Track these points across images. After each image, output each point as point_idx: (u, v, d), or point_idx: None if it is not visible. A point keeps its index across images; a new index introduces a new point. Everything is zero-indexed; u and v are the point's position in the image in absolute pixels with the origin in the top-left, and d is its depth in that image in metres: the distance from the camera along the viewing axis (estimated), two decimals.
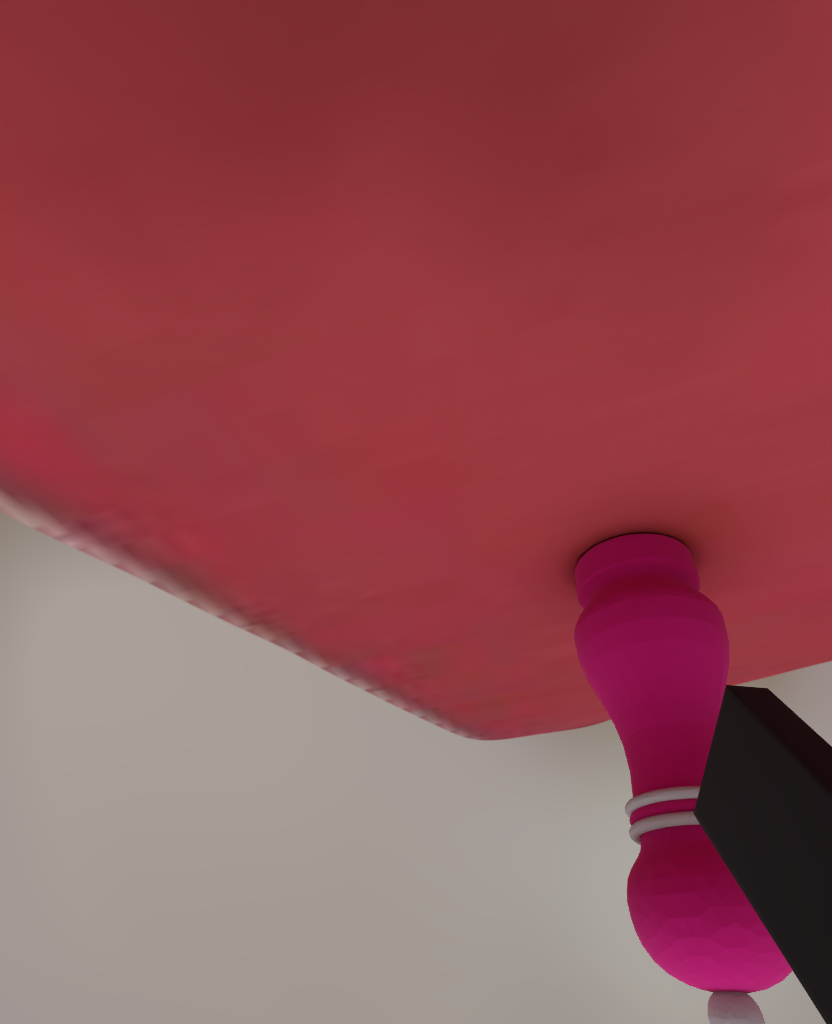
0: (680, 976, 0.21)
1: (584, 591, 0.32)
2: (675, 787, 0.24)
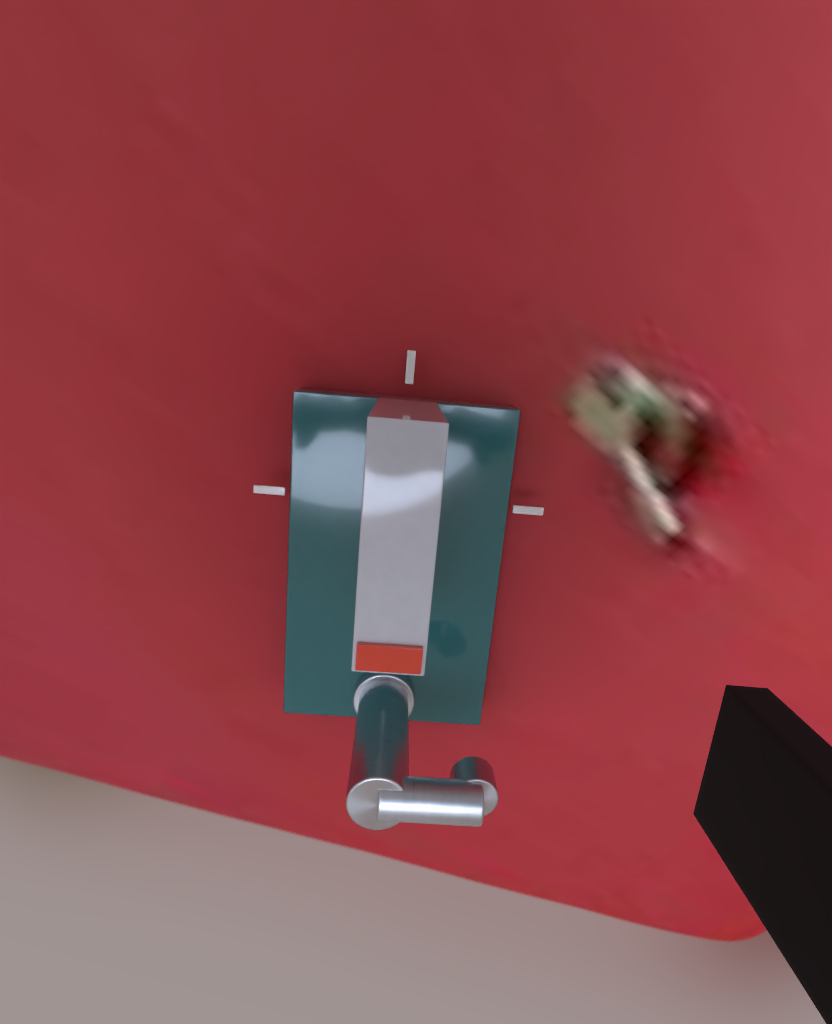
0: None
1: None
2: None
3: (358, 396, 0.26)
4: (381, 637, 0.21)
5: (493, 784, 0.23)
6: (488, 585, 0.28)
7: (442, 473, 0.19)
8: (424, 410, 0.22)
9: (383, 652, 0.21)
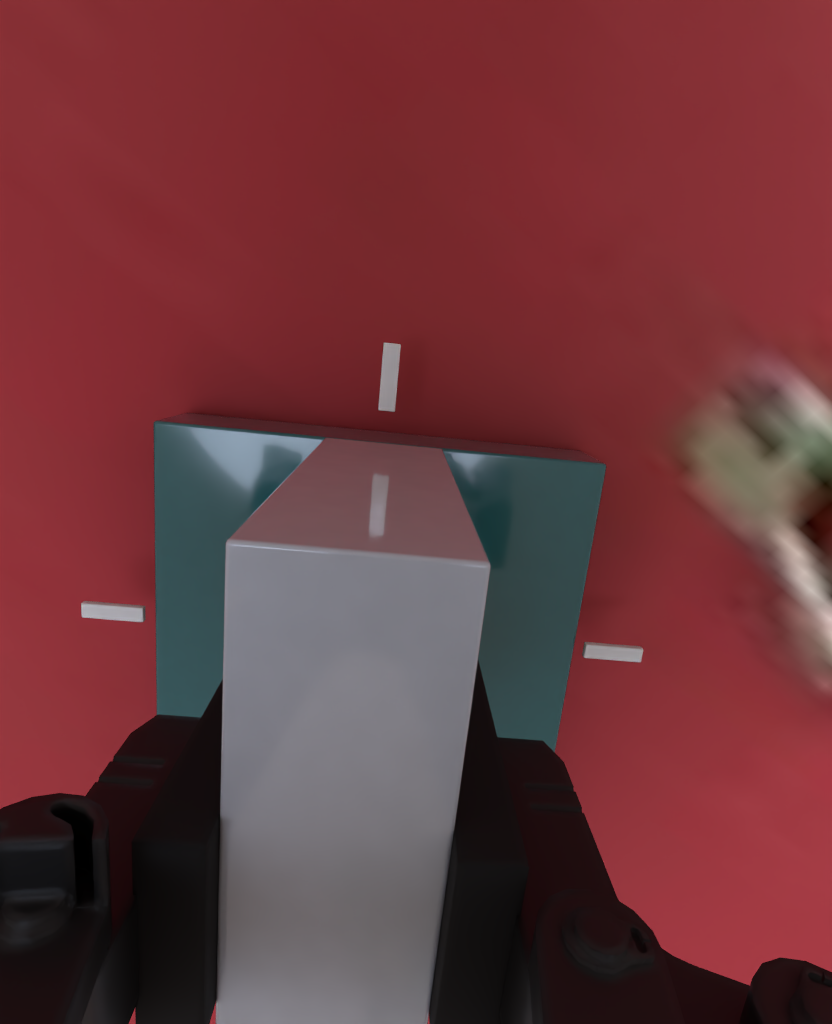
0: None
1: None
2: None
3: (285, 434, 0.13)
4: None
5: None
6: None
7: (465, 710, 0.06)
8: (415, 483, 0.09)
9: None
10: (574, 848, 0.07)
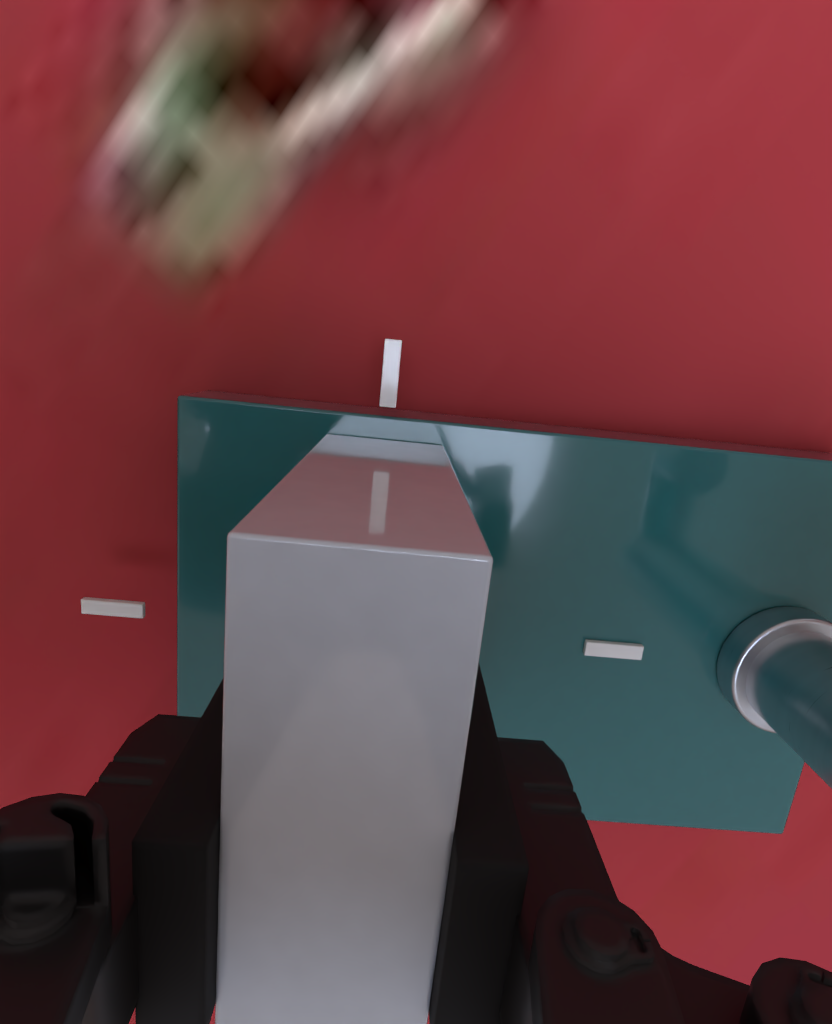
0: None
1: None
2: None
3: (178, 691, 0.15)
4: None
5: None
6: (559, 453, 0.13)
7: (467, 705, 0.06)
8: (417, 479, 0.09)
9: None
10: (574, 848, 0.07)
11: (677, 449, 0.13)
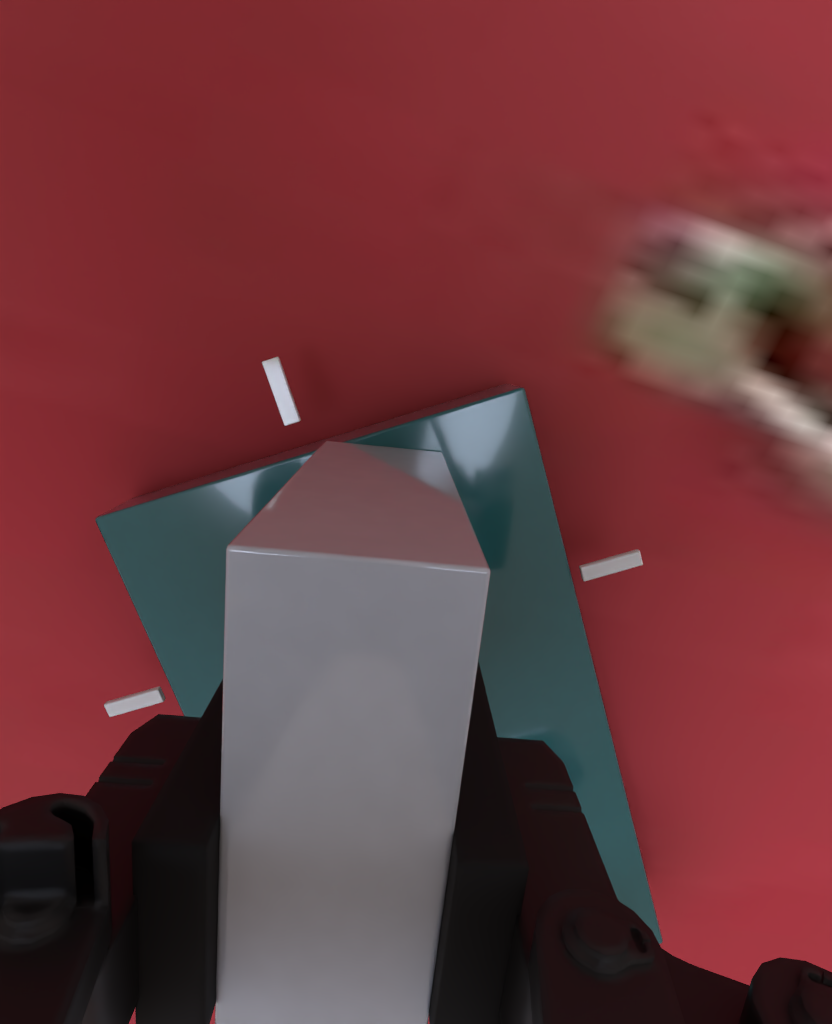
0: None
1: None
2: None
3: (213, 482, 0.13)
4: None
5: None
6: (589, 718, 0.15)
7: (465, 715, 0.06)
8: (415, 487, 0.09)
9: None
10: (574, 848, 0.07)
11: (624, 799, 0.16)
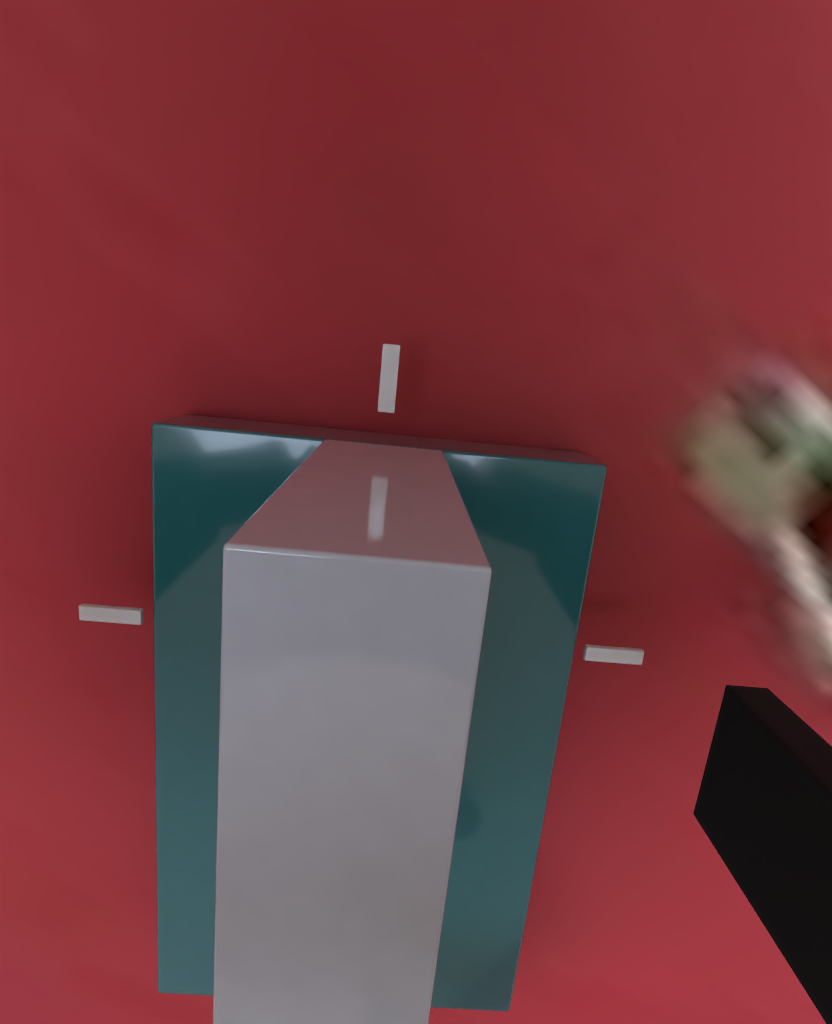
0: None
1: None
2: None
3: (284, 435, 0.13)
4: None
5: None
6: (533, 785, 0.15)
7: (466, 717, 0.06)
8: (415, 486, 0.09)
9: None
10: None
11: (532, 869, 0.16)
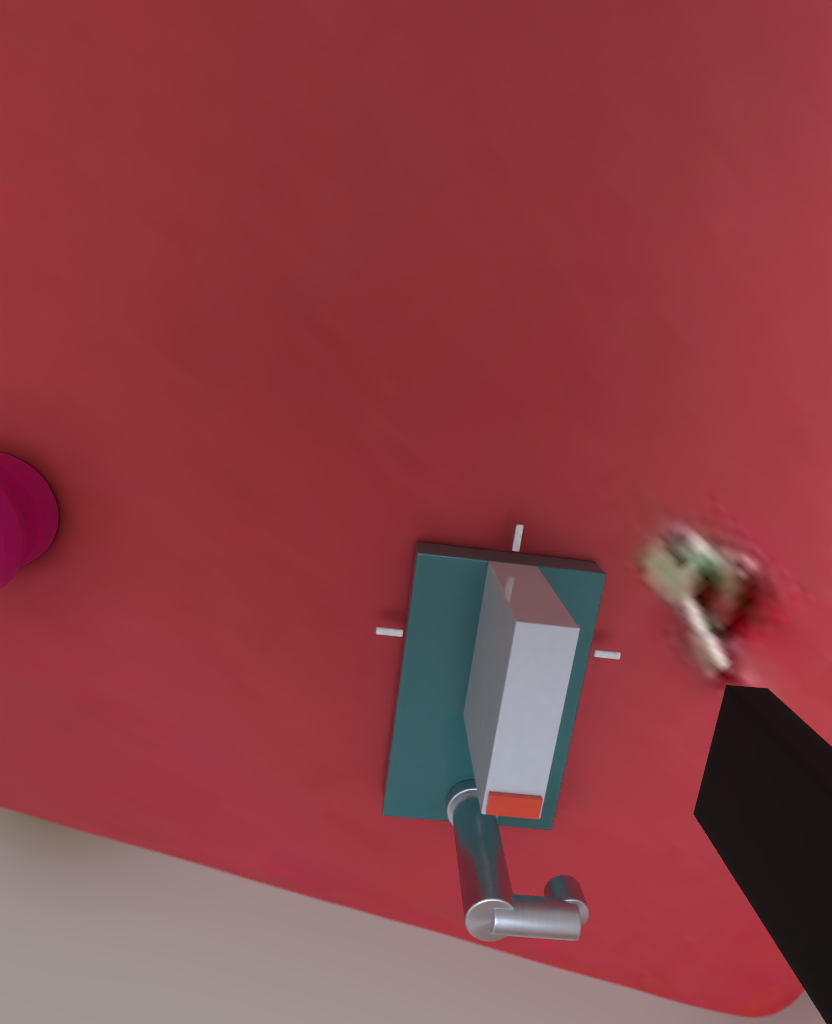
0: None
1: None
2: None
3: (471, 558, 0.31)
4: (509, 788, 0.25)
5: (585, 902, 0.28)
6: (568, 714, 0.33)
7: (571, 665, 0.24)
8: (543, 594, 0.27)
9: (510, 801, 0.25)
10: None
11: (566, 755, 0.34)
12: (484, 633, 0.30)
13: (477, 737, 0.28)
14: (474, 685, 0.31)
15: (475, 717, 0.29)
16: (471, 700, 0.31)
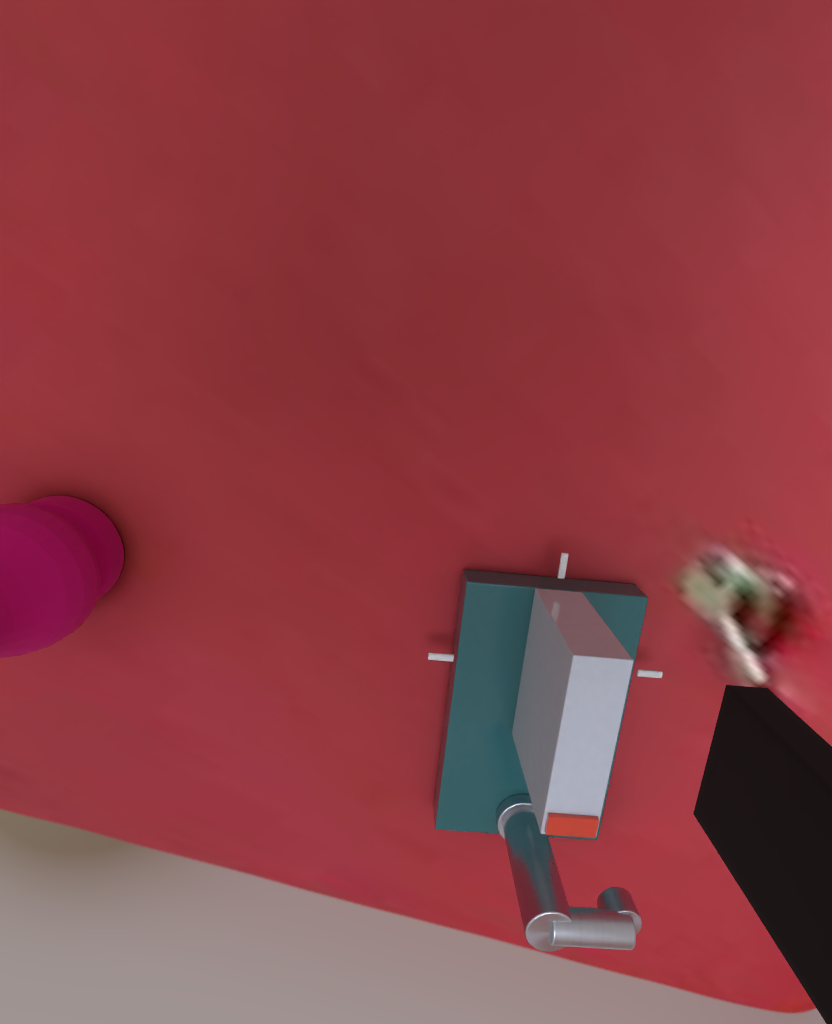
0: None
1: None
2: None
3: (518, 586, 0.32)
4: (566, 809, 0.27)
5: (638, 913, 0.29)
6: None
7: (625, 694, 0.25)
8: (592, 623, 0.28)
9: (568, 822, 0.27)
10: None
11: None
12: (534, 658, 0.31)
13: (531, 758, 0.30)
14: (524, 707, 0.32)
15: (527, 738, 0.31)
16: (521, 721, 0.32)
